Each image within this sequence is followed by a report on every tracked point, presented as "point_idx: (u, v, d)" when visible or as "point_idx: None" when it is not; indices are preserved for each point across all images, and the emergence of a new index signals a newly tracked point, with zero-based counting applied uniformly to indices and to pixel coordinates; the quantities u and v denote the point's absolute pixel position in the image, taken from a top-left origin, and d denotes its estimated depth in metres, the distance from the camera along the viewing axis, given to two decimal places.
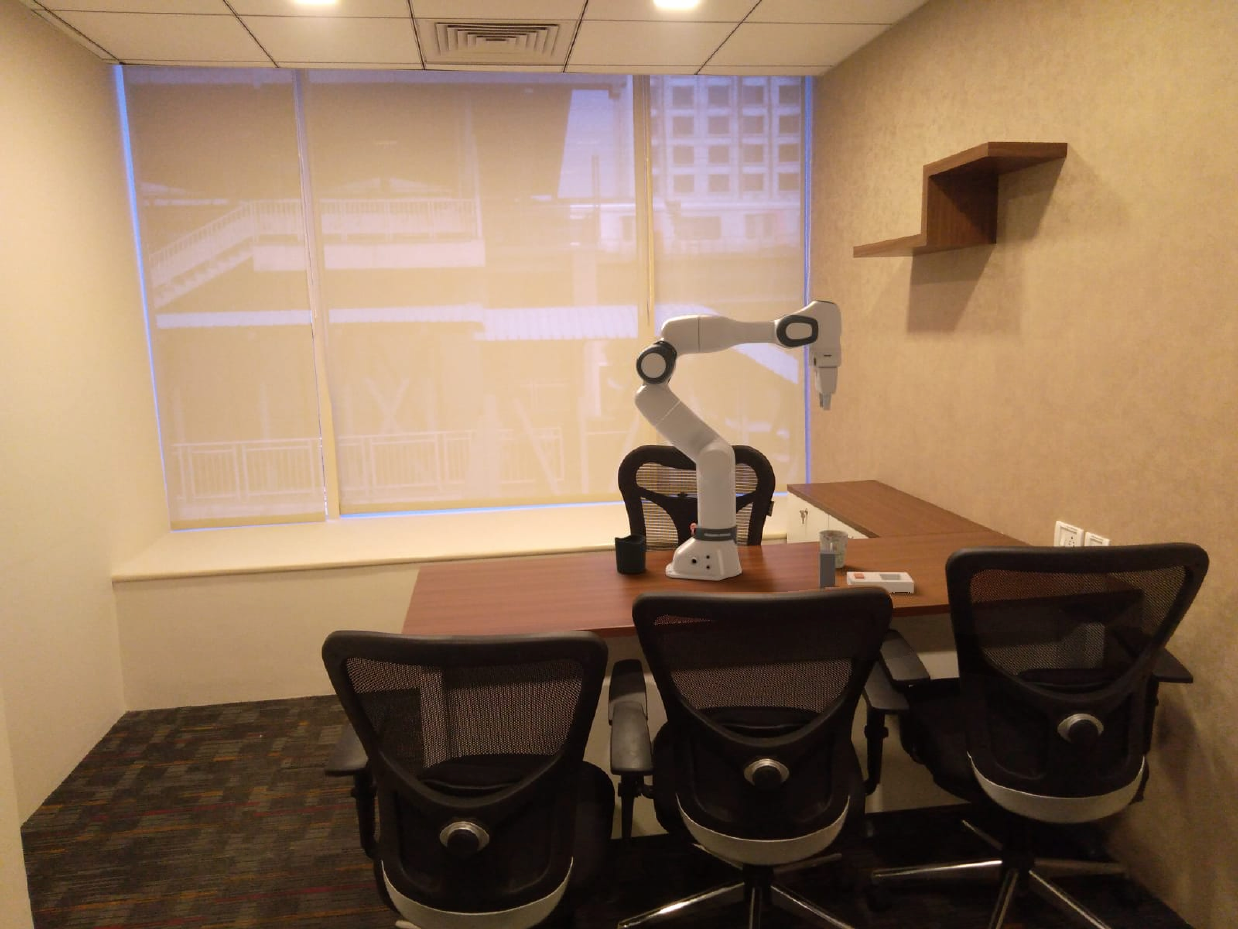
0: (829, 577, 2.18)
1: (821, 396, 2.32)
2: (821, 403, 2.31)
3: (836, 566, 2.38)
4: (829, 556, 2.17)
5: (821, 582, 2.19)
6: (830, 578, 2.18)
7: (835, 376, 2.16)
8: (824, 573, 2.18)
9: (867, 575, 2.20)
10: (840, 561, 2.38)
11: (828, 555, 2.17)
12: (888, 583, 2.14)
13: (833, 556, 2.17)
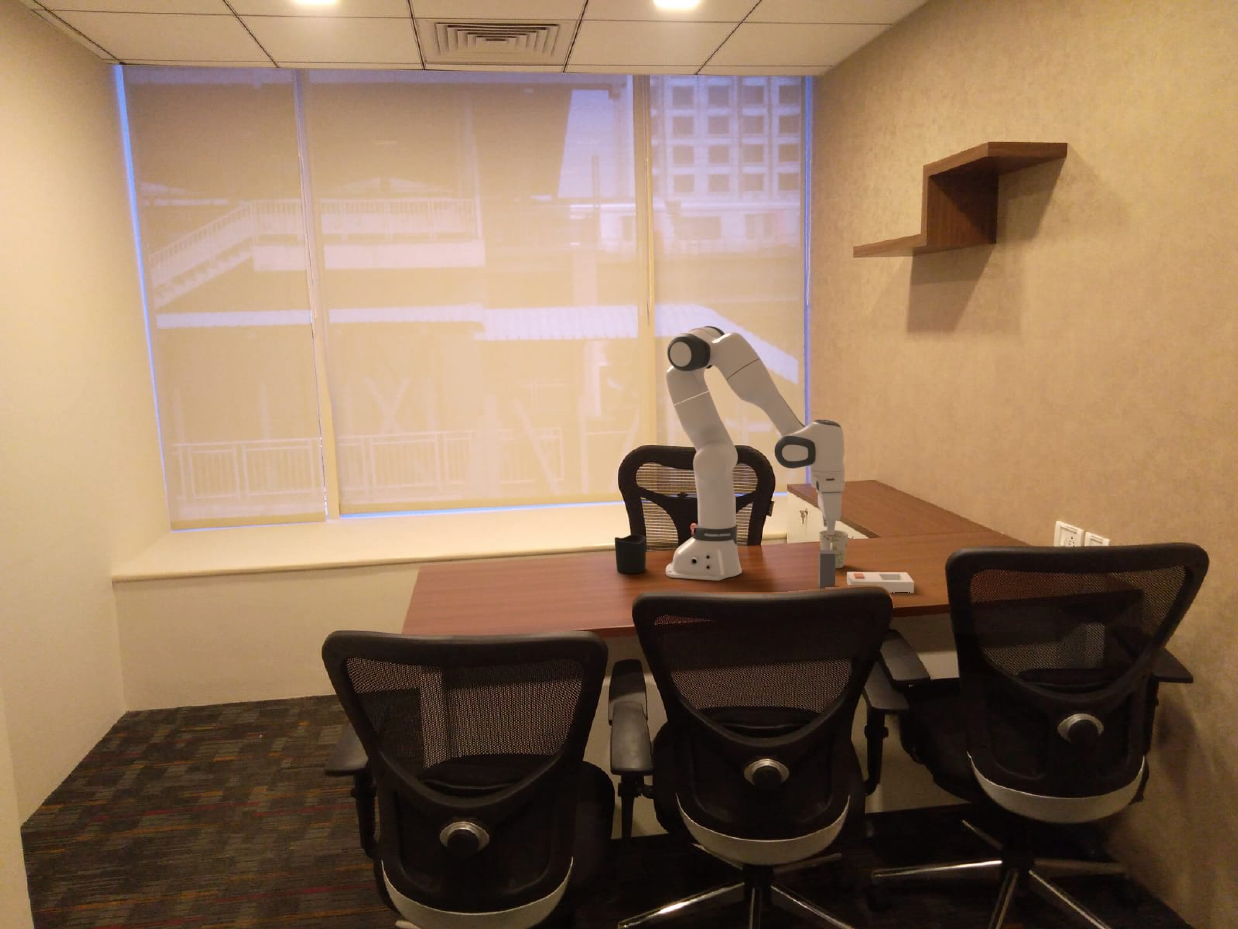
0: (829, 577, 2.18)
1: None
2: (825, 522, 2.22)
3: (836, 566, 2.38)
4: (829, 556, 2.17)
5: (821, 582, 2.19)
6: (830, 578, 2.18)
7: (839, 502, 2.07)
8: (824, 573, 2.18)
9: (867, 575, 2.20)
10: (840, 561, 2.38)
11: (828, 555, 2.17)
12: (888, 583, 2.14)
13: (833, 556, 2.17)
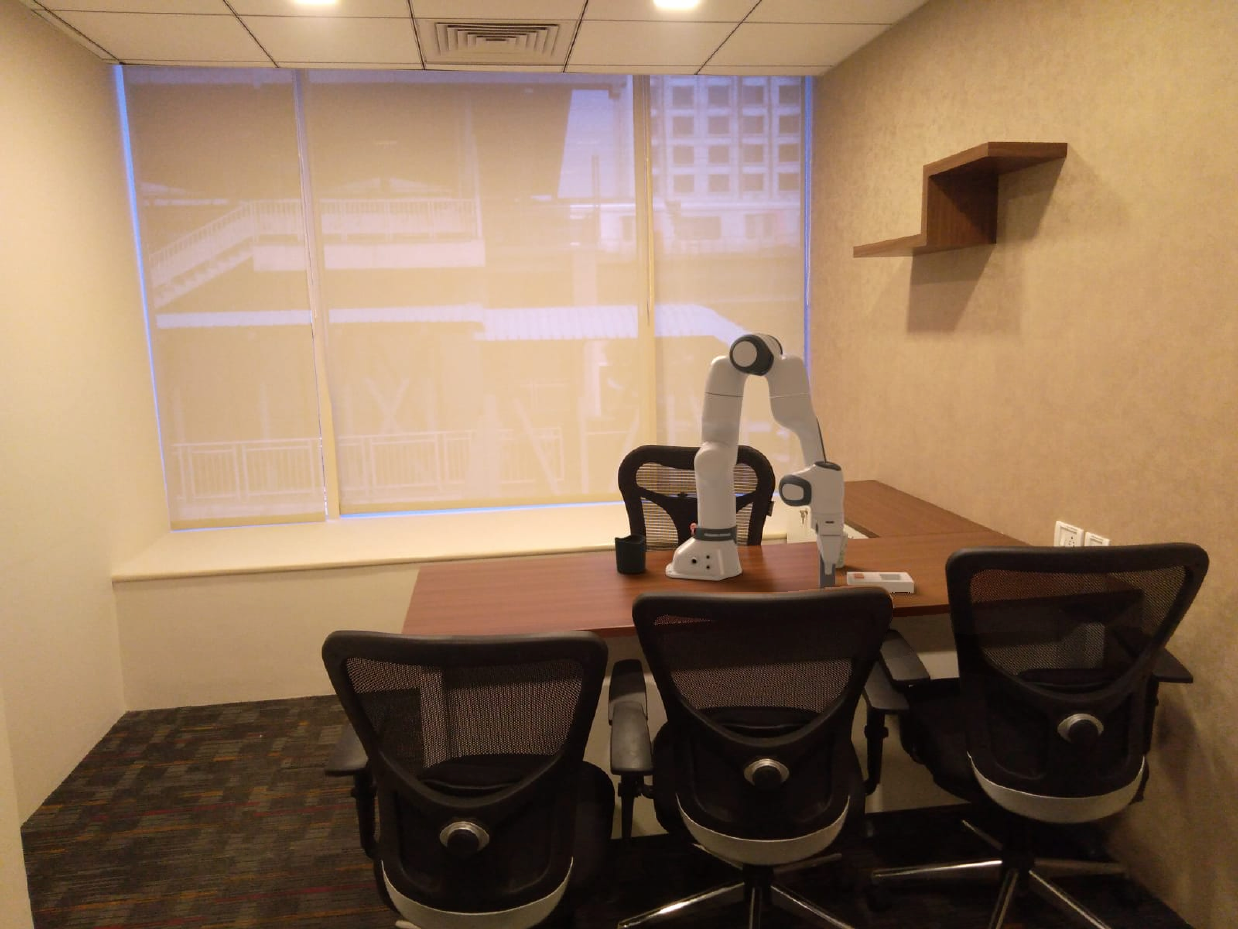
0: (829, 577, 2.18)
1: None
2: None
3: (836, 566, 2.38)
4: None
5: (821, 582, 2.19)
6: (830, 578, 2.18)
7: (838, 546, 2.09)
8: (824, 573, 2.18)
9: (867, 575, 2.20)
10: (840, 561, 2.38)
11: None
12: (888, 583, 2.14)
13: None
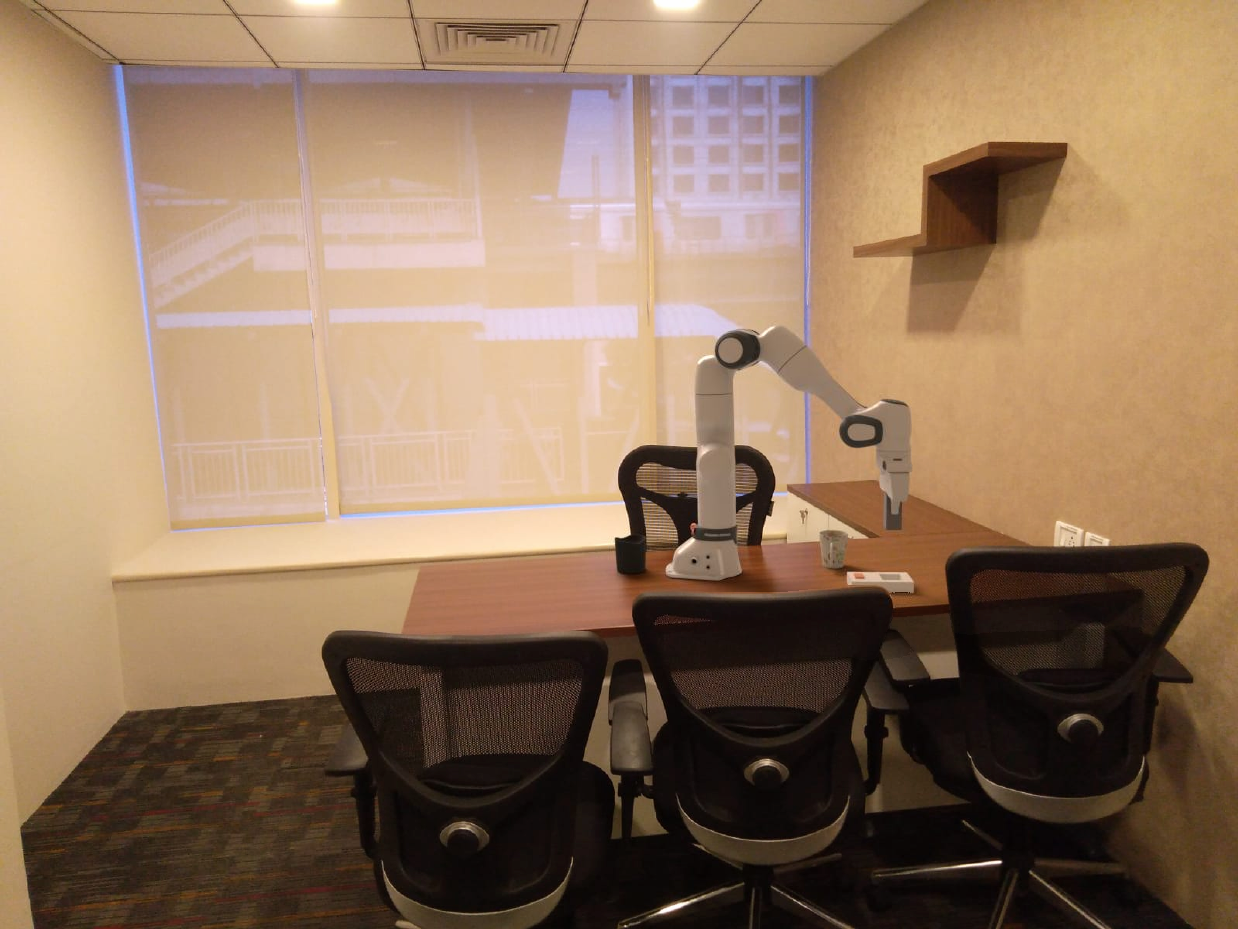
0: (896, 518, 2.13)
1: None
2: None
3: (836, 566, 2.38)
4: None
5: (887, 523, 2.14)
6: (897, 519, 2.13)
7: (907, 483, 2.04)
8: (891, 513, 2.13)
9: (867, 575, 2.20)
10: (840, 561, 2.38)
11: None
12: (888, 583, 2.14)
13: None
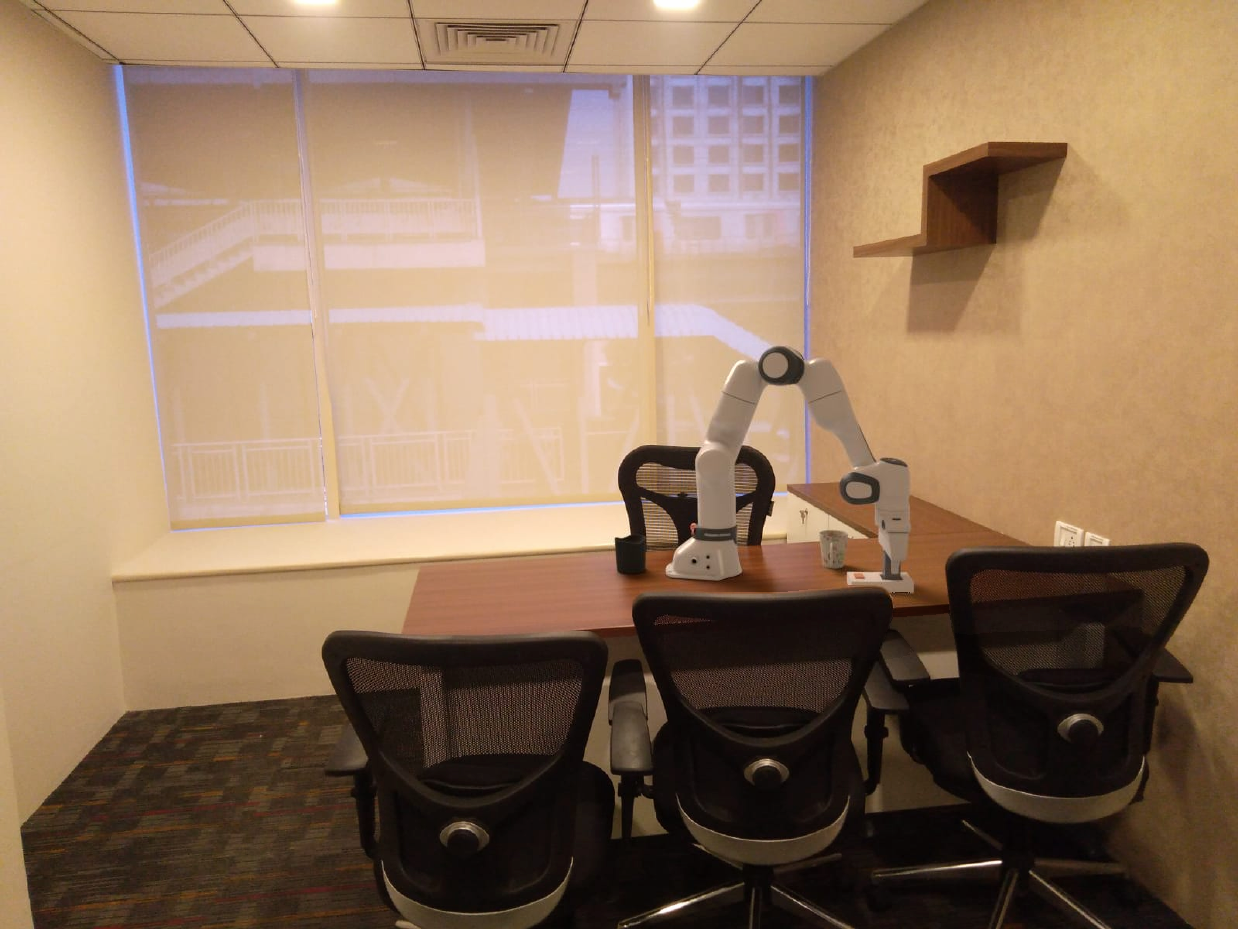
0: (894, 578, 2.16)
1: None
2: None
3: (836, 566, 2.38)
4: None
5: None
6: (895, 579, 2.16)
7: (906, 543, 2.06)
8: (889, 574, 2.16)
9: (867, 575, 2.20)
10: (840, 561, 2.38)
11: None
12: (888, 583, 2.14)
13: None
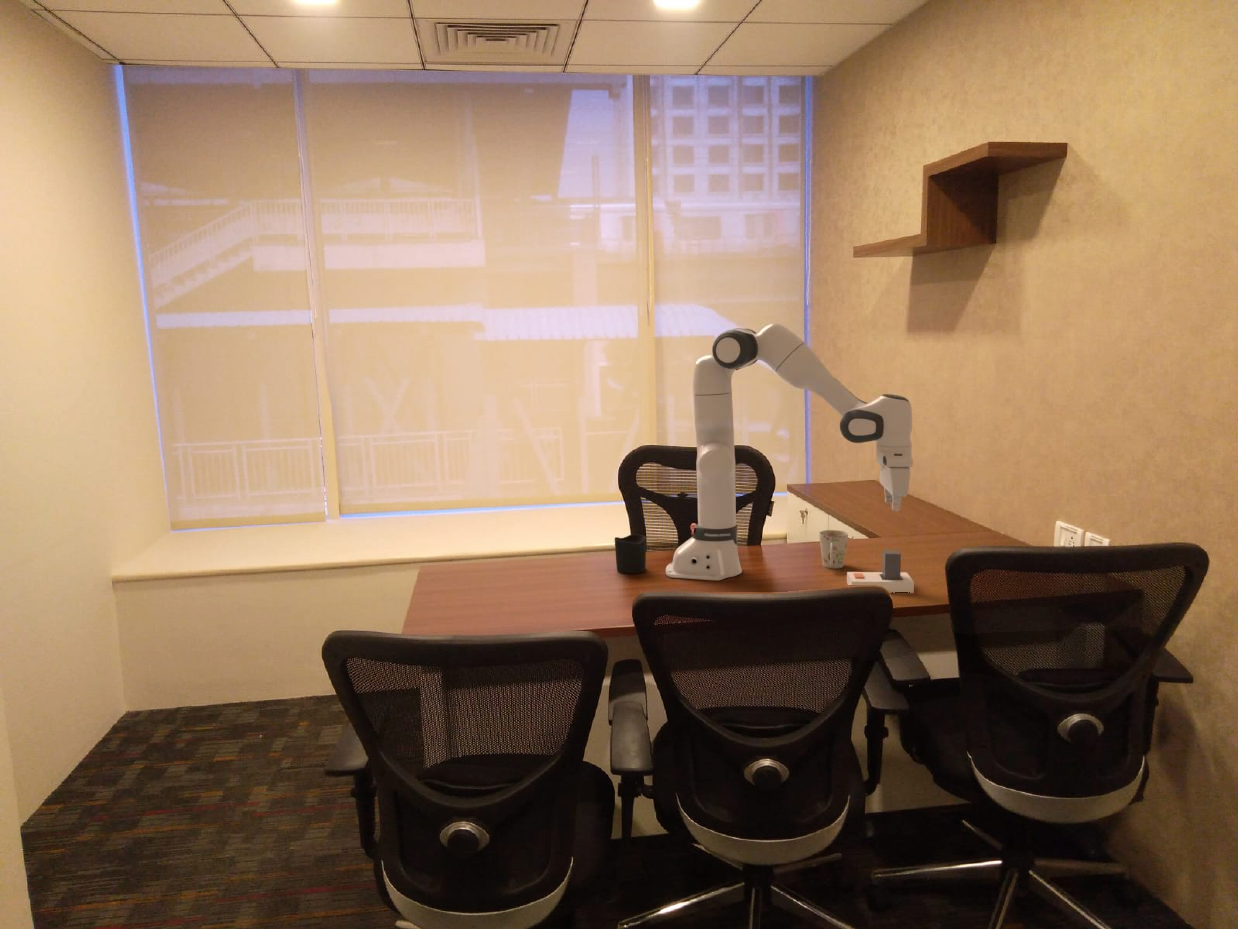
0: (894, 578, 2.16)
1: (887, 491, 2.20)
2: (887, 499, 2.19)
3: (836, 566, 2.38)
4: (894, 556, 2.15)
5: None
6: (895, 579, 2.16)
7: (907, 478, 2.04)
8: (889, 574, 2.16)
9: (867, 575, 2.20)
10: (840, 561, 2.38)
11: (893, 555, 2.15)
12: (888, 583, 2.14)
13: (898, 556, 2.15)
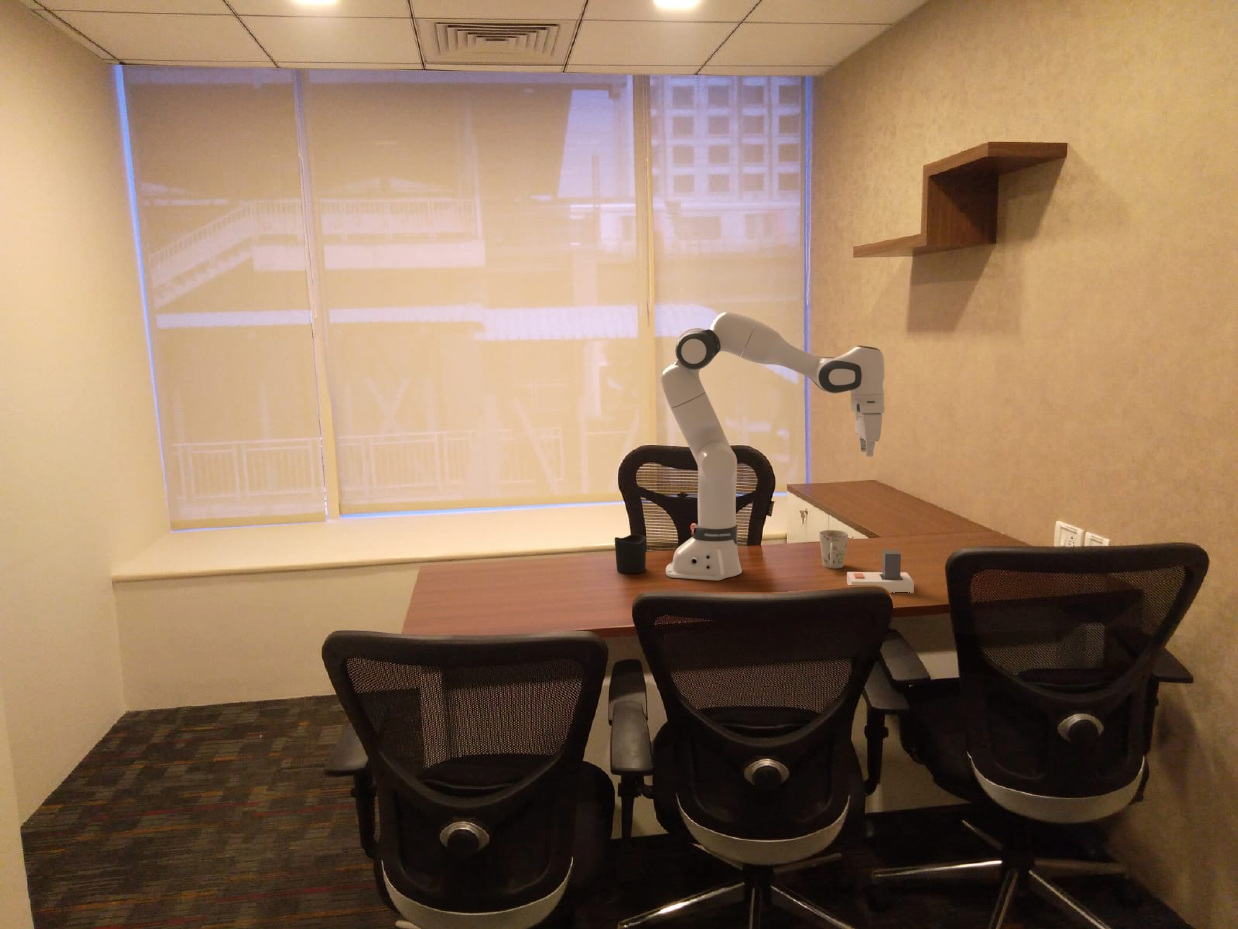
0: (894, 578, 2.16)
1: (862, 440, 2.30)
2: (862, 447, 2.29)
3: (836, 566, 2.38)
4: (894, 556, 2.15)
5: None
6: (895, 579, 2.16)
7: (879, 423, 2.14)
8: (889, 574, 2.16)
9: (867, 575, 2.20)
10: (840, 561, 2.38)
11: (893, 555, 2.15)
12: (888, 583, 2.14)
13: (898, 556, 2.15)
